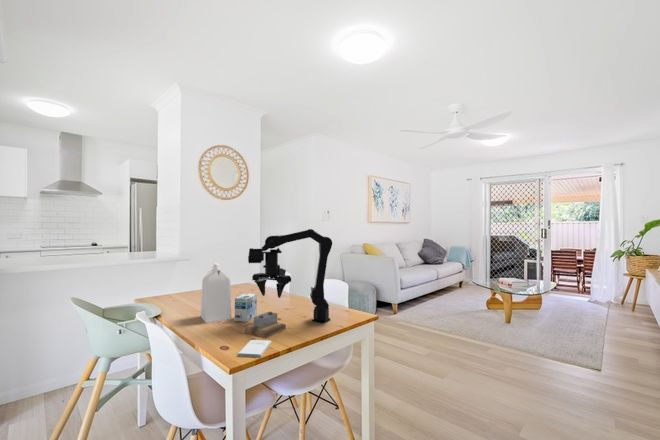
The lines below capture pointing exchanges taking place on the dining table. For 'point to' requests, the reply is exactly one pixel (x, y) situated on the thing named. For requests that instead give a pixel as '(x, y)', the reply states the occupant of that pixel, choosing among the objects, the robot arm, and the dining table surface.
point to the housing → (265, 320)
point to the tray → (265, 330)
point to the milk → (216, 296)
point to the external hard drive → (255, 348)
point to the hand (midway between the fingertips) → (271, 296)
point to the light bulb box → (245, 307)
